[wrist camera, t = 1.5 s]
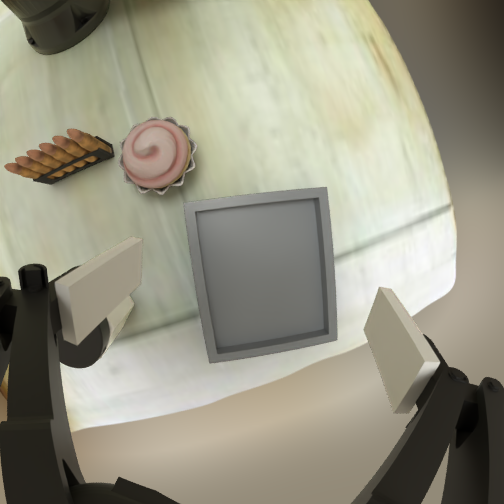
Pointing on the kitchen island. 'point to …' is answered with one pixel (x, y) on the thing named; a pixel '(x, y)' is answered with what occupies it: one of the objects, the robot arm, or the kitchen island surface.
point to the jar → (94, 338)
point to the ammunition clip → (62, 157)
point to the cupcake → (157, 155)
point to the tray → (263, 272)
